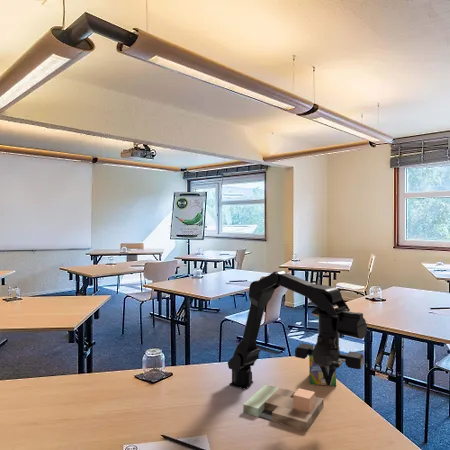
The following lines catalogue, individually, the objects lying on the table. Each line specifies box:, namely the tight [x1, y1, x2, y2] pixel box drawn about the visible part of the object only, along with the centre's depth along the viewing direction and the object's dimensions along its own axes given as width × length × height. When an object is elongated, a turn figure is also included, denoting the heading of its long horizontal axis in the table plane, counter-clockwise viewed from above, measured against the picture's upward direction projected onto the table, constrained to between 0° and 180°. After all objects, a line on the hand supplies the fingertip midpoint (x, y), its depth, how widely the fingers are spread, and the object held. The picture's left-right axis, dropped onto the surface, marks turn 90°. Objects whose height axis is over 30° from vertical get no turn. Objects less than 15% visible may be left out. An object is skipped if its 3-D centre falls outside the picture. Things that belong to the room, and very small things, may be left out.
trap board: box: [242, 384, 325, 432], centre depth 112 cm, size 20×16×2 cm
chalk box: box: [308, 345, 337, 387], centre depth 133 cm, size 9×9×15 cm
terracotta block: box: [293, 388, 316, 413], centre depth 109 cm, size 5×5×4 cm
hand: (328, 384), depth 105 cm, fingers closed
